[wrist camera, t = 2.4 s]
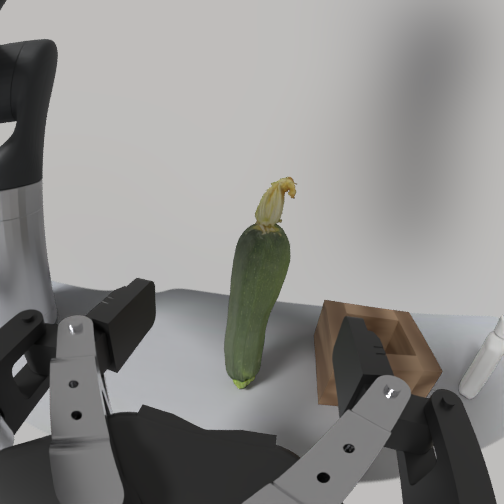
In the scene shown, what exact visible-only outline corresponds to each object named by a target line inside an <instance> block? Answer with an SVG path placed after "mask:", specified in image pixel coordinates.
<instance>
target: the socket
mask: <svg viewBox="0 0 504 504" xmlns="http://www.w3.org/2000/svg"><path fill="white" fill-rule="evenodd" d="M345 316H350V317H357V318H363V319H364V322H365V325H366V327H367V330H368V331H373V332H374V333H375V334H376V335H377V336H378V337H379V338H380V340H381V343H382V345H383V349H384V350H385V353H386V355H387V358H388V360H389V363H390V366H391V368H392V371H393V374H394V376H395V377H398V378H400V379H402V380H403V381H405V382H406V383H407V385H408V386H409V388H410V390H411V394H413V395H417V396H421V397H425V398H426V396H427V395H428V393H429V392H430V390H431V389H432V387H433V386H434V384H435V383H436V381H437V380H438V378H439V377H440V375H441V373H442V372H443V371H442V369H441V368H440V366H439V364H438V362H437V360H436V358H435V356H434V355H433V353H432V351H431V349H430V347H429V346H428V344H427V342H426V340H425V339H424V337H423V335H422V333H421V332H420V330H419V328H418V327H417V325H416V323H415V322H414V320H413V318H412V317H411V315H410V313H409V312H403V311H396V310H389V309H381V308H375V307H368V306H361V305H354V304H348V303H341V302H335V301H329V300H324V304H323V307H322V310H321V314H320V317H319V320H318V324H317V327H316V330H315V333H314V344H315V358H316V373H317V390H318V404H321V405H332V406H338V399H337V391H336V384H335V377H334V369H333V363H332V353H333V348H334V345H335V342H336V339H337V336H338V333H339V330H340V327H341V324H342V321H343V319H344V317H345Z"/></svg>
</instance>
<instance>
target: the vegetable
mask: <svg viewBox="0 0 504 504" xmlns="http://www.w3.org/2000/svg"><path fill="white" fill-rule="evenodd" d="M294 184H296V183H294V181H293V179H292V178H291V177H286V178H282V179H280V180H279V181H277V182H273V183H271V185H272V187H271V188H269V189H268V190H267V192H266V193H265V194H264V195H263V196H262V199H261V201H260V203H259V206H258V207H257V210H256V213H255V217H256V219H257V222H256V223H255V224H253V225H251V226H250V227H249V228H247V229H246V230H245V231H244V232H243V234H242V235H241V237H240V238H239V240H238V243H237V246H236V250H235V256H234V260H233V268H232V276H231V288H230V289H231V290H230V298H229V307H228V319H227V327H226V334H225V342H224V352H225V365H226V371H227V373H228V375H229V376H230V378H232V379H233V382H234V384H235V385H236V386H237V388H239V389H241V388H242V389H243V388H245V387H246V386H247V385H248V384H250V382H251V381H253V380H254V379H255V375H256V374H257V373H258V372H259V369H260V366H261V358H262V352H263V346H264V339H265V330H266V326H267V322H268V318H269V315H270V312H271V310H272V308H273V306H274V304H275V302H276V300H277V298H278V296H279V293H280V290H281V288H282V285H283V282H284V280H285V277H286V274H287V271H288V267H289V263H290V244H289V241H288V238H287V236H286V234H285V232H284V230H283V229H282V228H281V227H280V226H279V225H277V224H276V223H278V222H280V223H281V222H282V220H280V218H281V214H282V210H283V205H284V194H285V192H288V190H289V192H288V195H290V196H291V198H294V196H295V194H296V190H295V185H294Z"/></svg>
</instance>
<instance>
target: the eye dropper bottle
mask: <svg viewBox="0 0 504 504" xmlns="http://www.w3.org/2000/svg"><path fill="white" fill-rule="evenodd" d="M503 354H504V315H502V316H501V317H500V319H499V321H498V323H497V325H496V327H495V329H494V331H492V332H491V333H490V334H489V335H488V336H487V337H486V339H485V341H484V343H483V345H482V347H481V348H480V350H479V352H478V354H477V355H476V357H475V359H474V360H473V362H472V364H471V365H470V367H469V369H468V370H467V372H466V373H465V375H464V377H463V378H462V380H461V382H460V385H459V392H460V393H461V394H462V395H463V396H465V397H466V398H468V399H472V398H474V397H475V396H476V395H477V394H478V393H479V391H480V390H481V389H482V387H483V386H484V384H485V383H486V381H487V380H488V378H489V377H490V375H491V374H492V372H493V371H494V369H495V367H496V366H497V364H498V363H499V361H500V359H501V358H502V356H503Z"/></svg>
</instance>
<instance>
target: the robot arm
mask: <svg viewBox="0 0 504 504" xmlns="http://www.w3.org/2000/svg"><path fill="white" fill-rule="evenodd" d="M5 2H6V0H0V10H1V8H2V6H3V5H4V3H5ZM57 57H58V52H57V47H56V45H55V43H54V42H53V41H52V40H48V39H41V40H31V41H23V42H16V43H9V44H4V45H0V123H6V122H13V121H17V123H16V127H15V130H14V132H13V134H12V135H11V137H10V138H9V139H8V140H7V141H6V142H5V143H4V144H3V145H2V146H1V147H0V504H343V503H342V502H343V500H344V499H345V498H346V497H347V496H348V494H349V493H350V492H351V491H352V490H353V488H354V487H355V486H356V484H357V483H358V482H359V480H360V479H361V478H362V476H363V475H364V474H365V472H366V471H367V470H368V468H369V467H370V465H371V464H372V463H373V461H374V460H375V458H376V457H377V455H378V454H379V452H380V451H381V449H382V448H383V447H387V448H391V449H395V450H396V452H397V458H398V465H399V473H400V480H401V489H402V498H403V504H496V499H495V495H494V491H493V488H492V484H491V480H490V477H489V474H488V470H487V467H486V464H485V461H484V458H483V455H482V452H481V449H480V446H479V443H478V441H477V438H476V435H475V433H474V430H473V427H472V425H471V422H470V420H469V418H468V415H467V413H466V410H465V408H464V406H463V403H462V401H461V399H460V398H459V397H458V396H457V395H456V394H455V393H453V392H451V391H449V390H445V389H439V390H436V391H435V392H434V393H433V394H432V395H431V397H430V398H425V397H421V396H417V395H413V394H411V390H410V388H409V386H408V385H407V383H406V382H405V381H403V380H402V379H400V378H398V377H395V376H394V374H393V371H392V368H391V366H390V363H389V360H388V358H387V355H386V353H385V350H384V349H383V345H382V343H381V340H380V338H379V337H378V336H377V335H376V334H375V333H374V332H373V331H368V330H367V327H366V325H365V322H364V319H363V318H357V317H350V316H345V317H344V319H343V321H342V324H341V327H340V330H339V333H338V336H337V339H336V342H335V345H334V348H333V353H332V363H333V369H334V377H335V384H336V391H337V399H338V408H339V416H340V419H339V420H338V421H337V422H336V423H335V424H334V425H333V426H332V428H331V429H330V430H329V431H328V432H327V433H326V434H325V435H324V436H323V437H322V438H321V439H320V440H319V441H318V442H317V443H316V444H315V445H314V446H313V447H312V448H311V449H310V450H309V451H308V452H307V453H306V454H305V455H304V456H302V457H301V458H300V457H299V456H298V455H296V454H295V453H293V452H291V451H290V450H288V449H285V448H283V447H281V446H278V445H276V436H277V435H270V434H263V433H257V432H250V431H244V430H205V429H202V428H200V427H198V426H196V425H194V424H192V423H190V422H188V421H186V420H184V419H182V418H180V417H178V416H176V415H174V414H172V413H168V412H165V411H162V410H158V409H155V408H152V407H149V406H146V405H142V407H141V408H140V410H139V412H138V413H137V412H120V413H112V409H111V404H110V400H109V395H108V390H107V385H106V380H105V376H104V372H105V371H106V370H107V369H108V370H111V371H114V372H116V373H118V371H119V370H120V369H121V367H122V366H123V365H124V363H125V362H126V361H127V359H128V358H129V356H130V355H131V354H132V352H133V351H134V350H135V348H136V347H137V346H138V344H139V343H140V342H141V340H142V339H143V338H144V336H145V335H146V334H147V332H148V331H149V330H150V328H151V327H152V326H153V324H154V321H155V316H156V306H155V285H154V282H153V281H148V280H144V279H140V278H136V279H135V280H134V281H132V282H131V283H130V284H129V285H128V286H127V287H126V286H124V287H122V288H119V289H116V290H114V291H113V292H112V293H111V294H110V295H109V296H108V297H106V298H105V299H104V300H103V301H102V302H100V303H99V304H98V305H97V306H96V307H95V308H94V309H92V310H91V311H90V312H89V313H88V314H87V315H86V316H82V315H74V316H69V317H67V318H65V319H63V320H62V321H61V322H60V323H59V325H57V324H54V323H55V322H56V319H57V309H56V304H55V299H54V294H53V289H52V283H51V277H50V271H49V264H48V257H47V249H46V241H45V230H44V216H43V195H42V166H43V147H44V134H45V125H46V117H47V112H48V107H49V101H50V97H51V92H52V87H53V83H54V78H55V73H56V67H57ZM23 354H24V355H25V358H26V360H27V364H26V365H25V366H24V367H23V368H22V369H21V370H20V371H19V372H18V373H17V375H16V376H15V377H14V378H13V376H12V368H13V365H14V364H15V363H16V362H17V360H18V359H19V358H20V357H21V356H22V355H23ZM49 387H50V419H51V434H52V435H49V436H45V437H42V438H39V439H35V440H32V441H28V442H25V443H21V444H18V445H14V446H13V443H14V435H15V433H16V432H17V431H18V429H19V428H20V426H21V425H22V424H23V422H24V421H25V419H26V418H27V417H28V415H29V414H30V413H31V411H32V410H33V408H34V407H35V406H36V404H37V403H38V402H39V400H40V399H41V398H42V397H43V395H44V394H45V393H46V391H47V390H48V389H49ZM433 446H434V447H435V451H436V456H437V460H436V457H435V453H434V449H433Z"/></svg>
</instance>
